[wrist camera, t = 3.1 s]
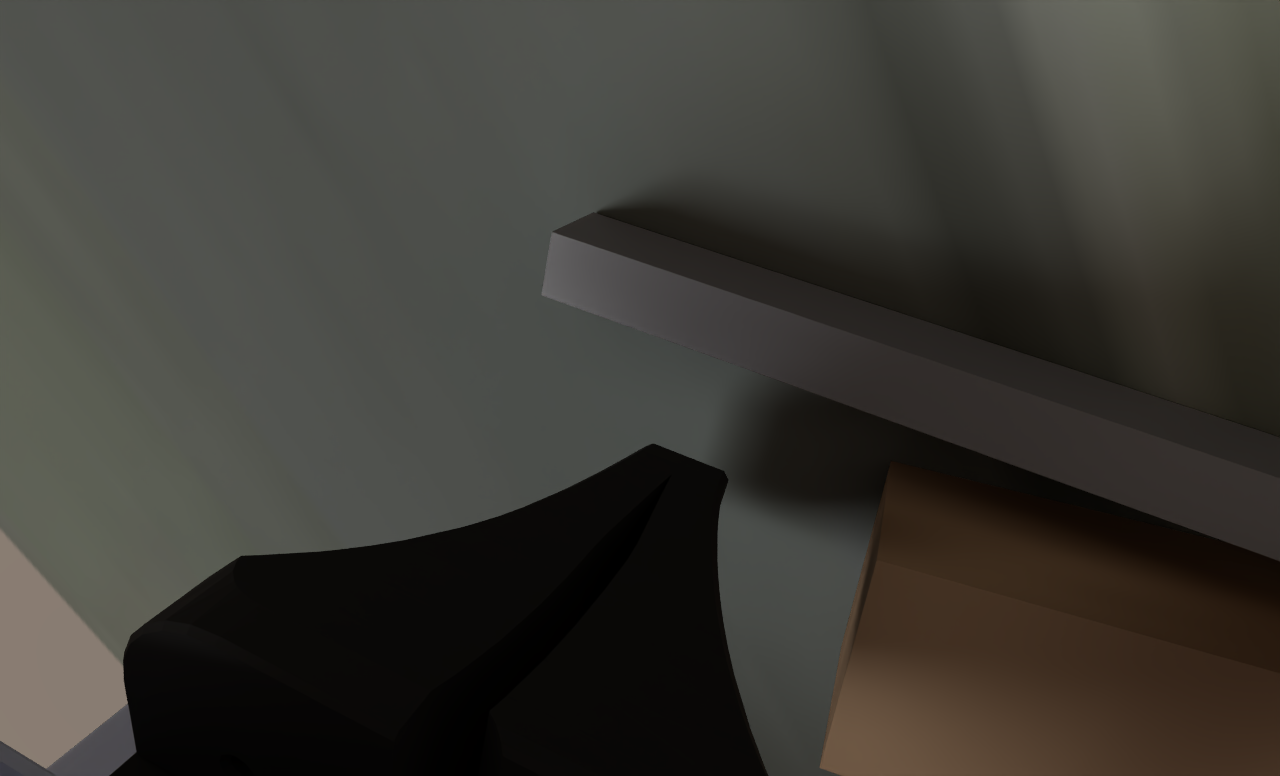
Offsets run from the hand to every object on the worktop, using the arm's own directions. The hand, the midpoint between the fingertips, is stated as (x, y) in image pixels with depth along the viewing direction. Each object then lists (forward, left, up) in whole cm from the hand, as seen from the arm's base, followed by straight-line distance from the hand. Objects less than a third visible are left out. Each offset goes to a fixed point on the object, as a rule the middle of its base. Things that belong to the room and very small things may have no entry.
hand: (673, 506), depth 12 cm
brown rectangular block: (+7, 0, -2) cm, 7 cm away
